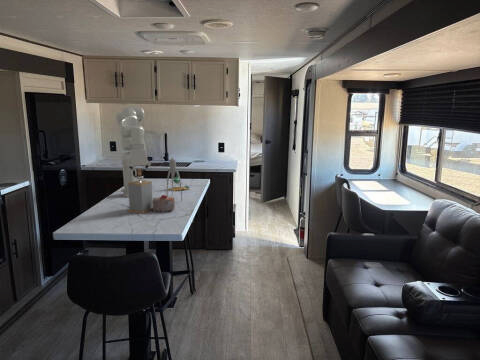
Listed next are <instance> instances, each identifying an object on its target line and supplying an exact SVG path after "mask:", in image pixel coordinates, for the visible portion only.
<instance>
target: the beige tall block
mask: <svg viewBox="0 0 480 360" xmlns="http://www.w3.org/2000/svg"><path fill="white" fill-rule="evenodd" d="M128 190H129V197H128V201H129V202H128V203H129V209H126V210H127V212H128V213H135V214H142V215H143V214H146V213H149V212H151V211H153V184H152V181H151V180H144V179H143V180H142V179H141V183H139V179H137V181H133V182H130V183H128Z"/></svg>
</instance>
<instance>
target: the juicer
mask: <svg viewBox="0 0 480 360" xmlns="http://www.w3.org/2000/svg"><path fill="white" fill-rule="evenodd" d="M176 174H177V175H178V178H179V185H180V186H179V187H180V189H181V190H180V199H181V201H183V191H182V190H183V189H182V187H183V186H182V185H181V184H182V181H181V177H180V173H179V170H178V169H177V163H176V159H175V158H174V157H170V159H169V170H168V173H167V179H166V196H167V197H169V194H168V193H169V190H168V189H169V179H170V175H171V181H172V182H171V188H172V190H171V191H172V193H171V194H172V195H174V190H173V188H174V183H173V182H174V181H173V180H174V177H175V176H176Z"/></svg>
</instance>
